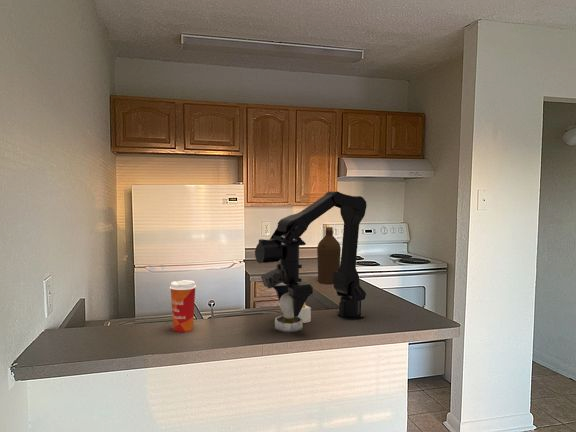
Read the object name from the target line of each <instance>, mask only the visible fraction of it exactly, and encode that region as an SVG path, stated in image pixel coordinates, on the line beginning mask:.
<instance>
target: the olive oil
mask: <svg viewBox="0 0 576 432" xmlns="http://www.w3.org/2000/svg"><path fill="white" fill-rule="evenodd" d="M333 229H334V227H332V226H326V227H325V230H324V231H325V235H324V237H322V239H321V240H320V241H318V245H317V249H316V252H317V253H316V254H317V257H316V258H317V282H318V283H319V284H323V285H333V283H332V281H333V272H334V271H338V269H339V268H340V265H341V254H342V246H341V244H340V242H339V241H338V240H337V239H336V238H335V236H334V230H333Z"/></svg>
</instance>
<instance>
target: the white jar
mask: <svg viewBox="0 0 576 432" xmlns="http://www.w3.org/2000/svg"><path fill="white" fill-rule="evenodd" d="M311 311H312V307H310V306H308V305H306V304H305V308H302V309H301V311H300V313H299V315H298V317H300V318H302V319H303V324H305V323H311V321H312V320H311V315H312V314H311V313H312V312H311Z"/></svg>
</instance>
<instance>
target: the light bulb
mask: <svg viewBox="0 0 576 432" xmlns="http://www.w3.org/2000/svg"><path fill="white" fill-rule="evenodd" d="M288 294H289V293H285V294H283V295H282V296H281V298H280V301H279V300H278V304H279V308H280V309H281V310H282V313H283V316H284V318H285V323H293V320H294V312H293V303H292V298H291V297H290V296H289V295H288Z"/></svg>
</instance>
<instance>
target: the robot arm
mask: <svg viewBox="0 0 576 432" xmlns="http://www.w3.org/2000/svg"><path fill="white" fill-rule="evenodd" d="M367 206H368V205H367V201H366V200H365V198H364V197H362V196H360V195H359V196H358V195H348V194H346V193H345V194H344V193H343V192H340V191H335V190H334V191H329V190H328V191H327V192H326V193H325V194H324V195H323V196H321V197H320V198H319V199H316V201H314V202H313V203H311V204H310V205H308V206H307V207H305V208H304V209H302V210H301V211H299V212H297V213H295V214H290V215H288V216H285V217H283V218H281V219H280V220H278V222H277V227H276V228H275V230H274V232H273V233H272V235H271V237H270V238H269V239H262V238H260V239H258V244H257V245H256V247H255V250H254V255H255V257H254V258H255V261H256V262H257V263H258V264H269V263H277V264H276V268H275V269H272V270H270V271H268V272H266V273H263V274H262V275H261V276H260V278H261V281H262V284H263V286H264V287H266V288H267V289H273V290H274V291H275V293H276V297H277V300H278V302H279V301H280V298H281V296H282V295H283V294H285V293H289V294H288V295H289V296H290V297H291V298H292V303H293V312H294V316H295V317H297V316H298V315H299V313H300V311H301V309H302V307H303V305H304V303H305V304H306V301H307V299H308V298H309V297H310V296H311V295H313V294H314V290H313V289H314V286H312V285H311V284H310V283H308V282H305V281H302V280H303V279H302V277H300V269H302V268H303V267H302V265H303V264H301V263H300V246H305V245H306V244H307V243H306V242H305V241H304V240H303V238H302V237H301V236H302V235H303V234H304V233H305V232H306V231H307V230H308V228H309V226H310V225H311V224H312V223H313V222H314V221H316V220H317V219H318V218H320V217H321V216H322V215H324V214H326V213H327V212H328V211H329V210H331V209H332V208H334V207H335V208H338V209H340V211H339V213H340V217H341V218H342V221H343V233H342V243H341V244H342V245H341V254H340V268H339V269H338V271H334V272H333V281H332V283H333V284H332V285H333V288H334V290H335V291H336V294H337V296H338V297H339V298H340V301H339V306H338V307H339V309H338V312H337V315H338V316H340V317H342V318H344V319H346V320H353V319H355V320H356V319H360V318H364V317H365V315H364V314H362V301H364V300H365V299H366V296H367V292H366V291H365V290H364V289H363V288H362V286H361V285H360V284H361V281H360V275H359V272H358V270H357V268H356V266H357V256H358V245H359V243H358V242H359V234H360V233H359V232H360V224H361V222H362V220H363V219H364V218H365V215H366V210H367Z"/></svg>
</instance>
